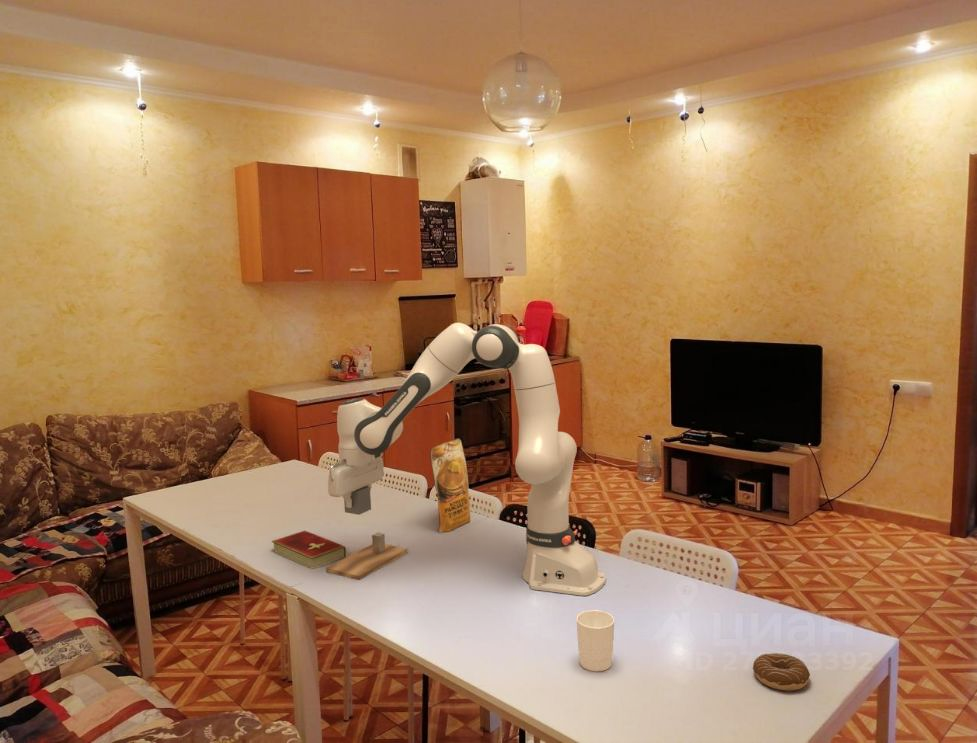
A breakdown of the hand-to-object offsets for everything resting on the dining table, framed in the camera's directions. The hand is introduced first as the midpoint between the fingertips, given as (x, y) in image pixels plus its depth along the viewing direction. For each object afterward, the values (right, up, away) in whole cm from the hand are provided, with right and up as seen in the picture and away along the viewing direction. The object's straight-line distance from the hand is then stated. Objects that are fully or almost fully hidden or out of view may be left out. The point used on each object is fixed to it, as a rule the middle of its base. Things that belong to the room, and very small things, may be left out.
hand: (357, 503), depth 205 cm
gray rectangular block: (0, -2, 0) cm, 2 cm away
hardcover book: (-17, -18, +13) cm, 28 cm away
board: (+2, -18, +6) cm, 19 cm away
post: (+5, -16, +10) cm, 19 cm away
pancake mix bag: (+25, -14, +35) cm, 45 cm away
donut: (+96, -25, -59) cm, 115 cm away
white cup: (+60, -25, -51) cm, 83 cm away
